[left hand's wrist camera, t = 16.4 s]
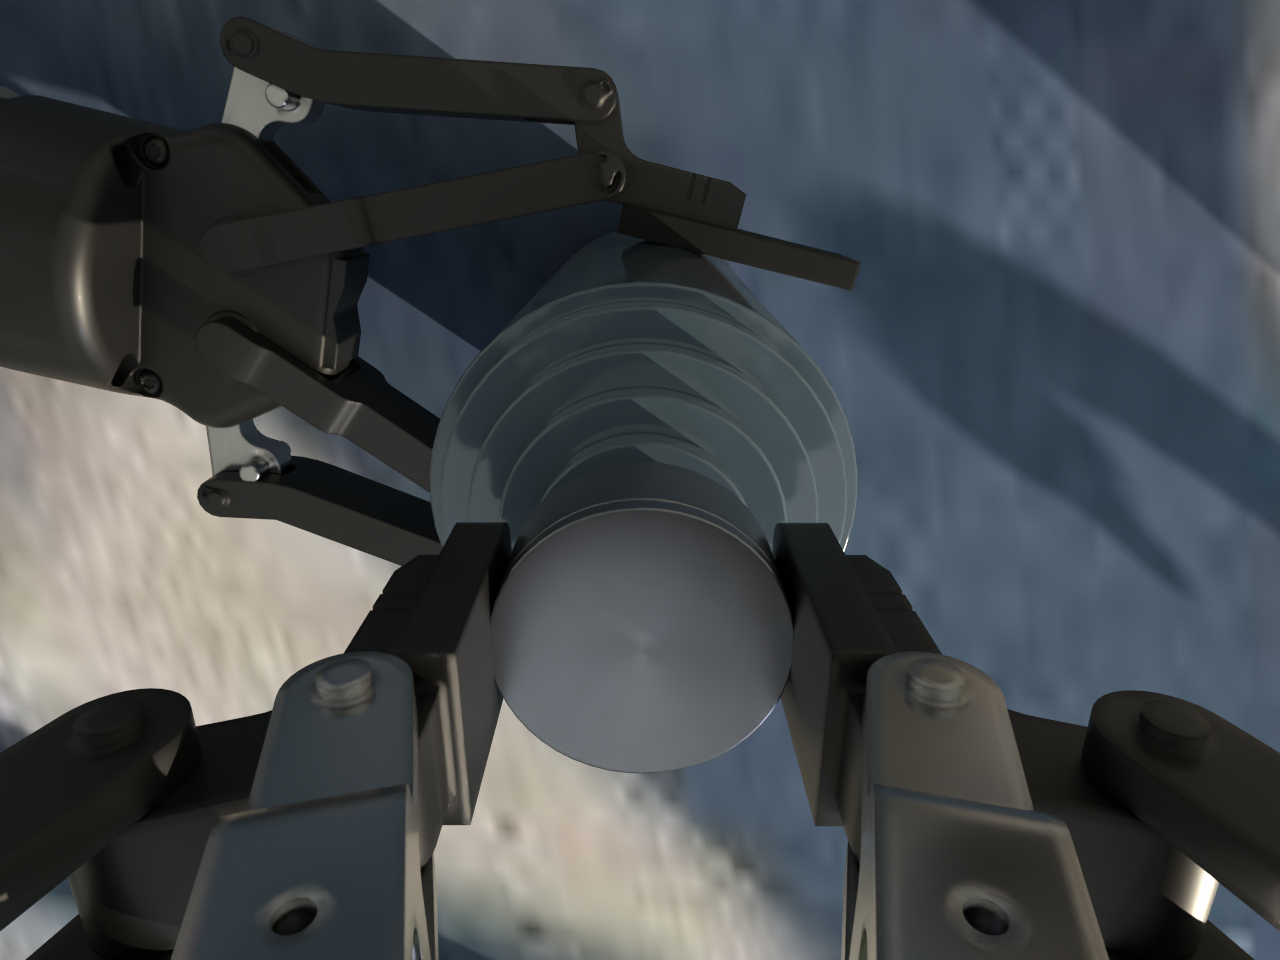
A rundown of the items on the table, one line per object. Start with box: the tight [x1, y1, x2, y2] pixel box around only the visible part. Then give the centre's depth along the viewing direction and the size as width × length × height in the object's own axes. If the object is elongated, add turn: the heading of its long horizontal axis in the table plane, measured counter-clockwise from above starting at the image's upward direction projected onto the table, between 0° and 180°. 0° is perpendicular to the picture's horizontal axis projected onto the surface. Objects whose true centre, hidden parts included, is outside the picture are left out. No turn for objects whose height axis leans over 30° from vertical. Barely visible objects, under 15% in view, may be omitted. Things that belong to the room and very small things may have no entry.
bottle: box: [430, 231, 857, 551], centre depth 20 cm, size 8×8×21 cm
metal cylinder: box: [491, 462, 794, 773], centre depth 11 cm, size 4×4×2 cm
